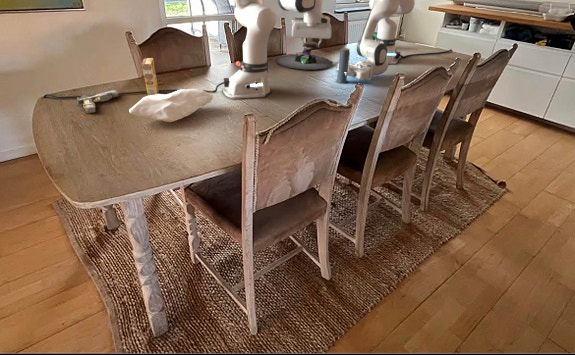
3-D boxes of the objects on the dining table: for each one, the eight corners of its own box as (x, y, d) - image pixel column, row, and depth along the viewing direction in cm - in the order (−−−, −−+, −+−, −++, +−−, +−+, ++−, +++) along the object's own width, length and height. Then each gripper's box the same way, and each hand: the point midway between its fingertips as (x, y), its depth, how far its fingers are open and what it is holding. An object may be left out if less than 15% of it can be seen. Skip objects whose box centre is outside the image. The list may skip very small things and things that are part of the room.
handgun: (128, 97, 156) (111, 87, 164) (86, 107, 144) (70, 97, 152) (129, 103, 157) (113, 94, 165) (88, 114, 146) (72, 103, 154)
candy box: (157, 97, 164) (152, 63, 155) (147, 98, 163) (141, 63, 155) (158, 91, 171) (153, 57, 163) (149, 91, 170) (143, 58, 162)
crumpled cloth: (117, 110, 146) (113, 90, 140) (195, 92, 166) (194, 73, 160) (143, 139, 134) (140, 118, 128) (223, 116, 154) (224, 96, 148)
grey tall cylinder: (335, 80, 195) (339, 48, 186) (344, 80, 196) (348, 47, 187) (338, 83, 191) (342, 50, 182) (347, 83, 192) (351, 50, 183)
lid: (316, 47, 185) (316, 44, 184) (305, 47, 185) (305, 44, 184) (316, 45, 190) (316, 41, 189) (305, 44, 190) (305, 41, 189)
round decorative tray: (344, 65, 218) (345, 49, 214) (297, 72, 201) (297, 55, 197) (309, 55, 243) (309, 41, 239) (264, 61, 226) (264, 46, 221)
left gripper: (291, 18, 178) (290, 47, 186) (332, 20, 177) (330, 49, 184) (292, 16, 183) (291, 44, 191) (332, 17, 182) (330, 46, 190)
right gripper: (350, 58, 202) (330, 61, 196) (375, 68, 187) (354, 71, 181) (349, 70, 205) (329, 72, 199) (373, 80, 190) (352, 83, 184)
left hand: (310, 46), depth 188 cm, fingers closed on lid, 6 cm apart
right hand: (341, 72), depth 190 cm, fingers closed on grey tall cylinder, 5 cm apart
